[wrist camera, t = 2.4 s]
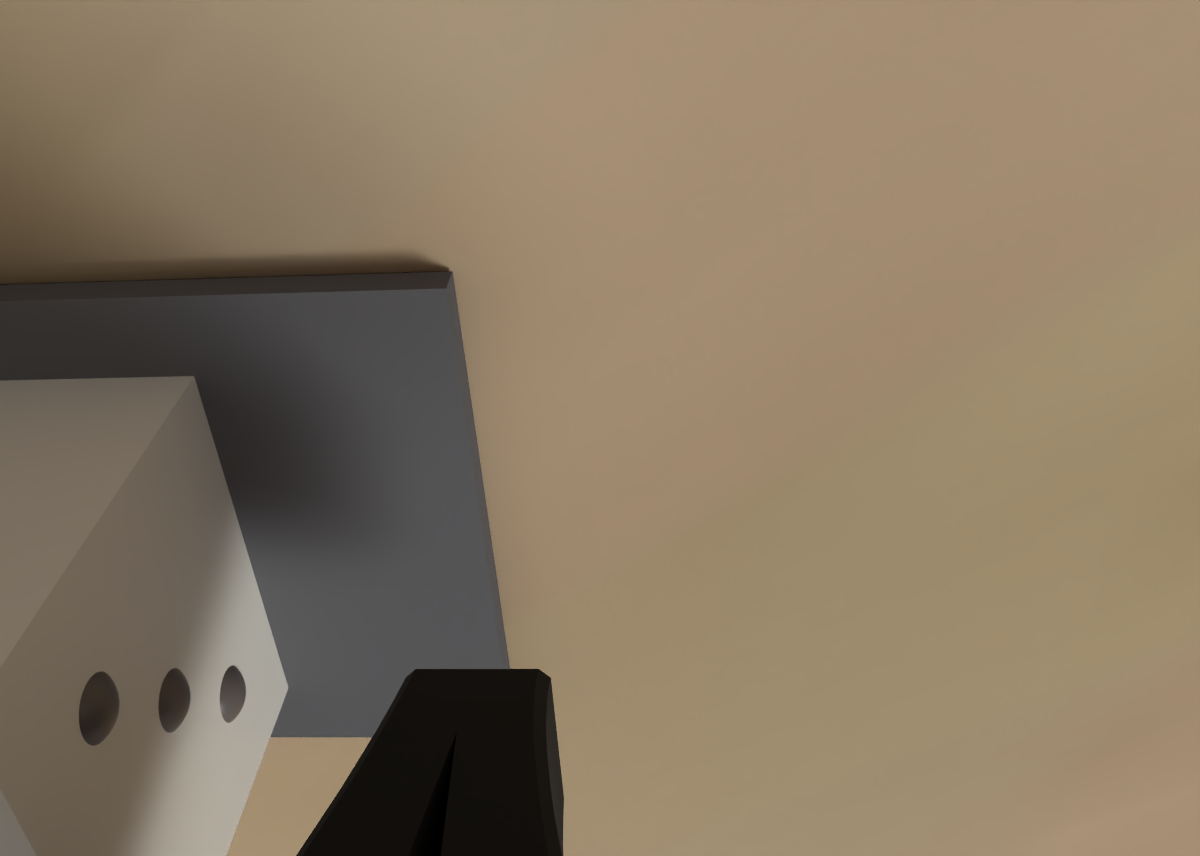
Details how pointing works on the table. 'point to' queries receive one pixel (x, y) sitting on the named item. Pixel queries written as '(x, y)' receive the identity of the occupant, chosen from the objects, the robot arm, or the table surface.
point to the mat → (314, 460)
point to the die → (125, 625)
